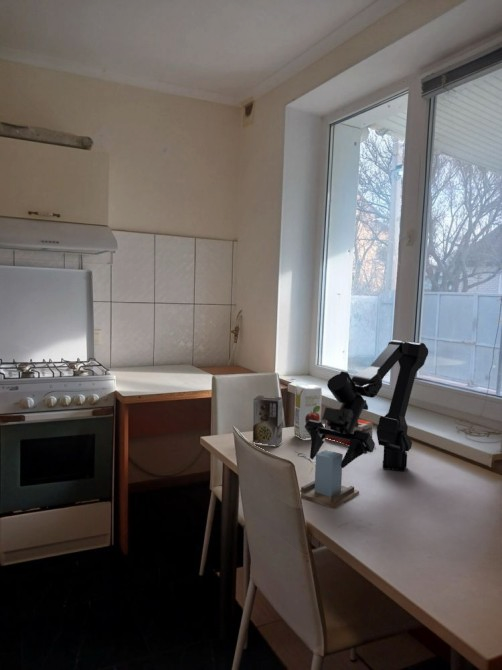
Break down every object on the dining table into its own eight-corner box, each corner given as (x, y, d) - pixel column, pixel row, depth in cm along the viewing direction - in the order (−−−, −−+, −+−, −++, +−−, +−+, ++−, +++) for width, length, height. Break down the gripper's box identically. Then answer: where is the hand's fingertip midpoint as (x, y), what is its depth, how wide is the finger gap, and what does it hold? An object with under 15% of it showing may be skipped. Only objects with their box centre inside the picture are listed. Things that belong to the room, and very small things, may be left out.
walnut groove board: (295, 495, 131) (295, 487, 131) (321, 482, 140) (321, 475, 140) (334, 508, 123) (335, 500, 123) (358, 493, 133) (359, 486, 133)
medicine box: (323, 439, 182) (324, 417, 181) (336, 435, 188) (337, 414, 187) (360, 449, 172) (361, 426, 171) (372, 444, 178) (373, 422, 177)
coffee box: (282, 442, 176) (283, 397, 175) (277, 447, 170) (278, 400, 169) (257, 439, 179) (259, 394, 178) (251, 444, 173) (253, 398, 172)
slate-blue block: (314, 491, 131) (315, 454, 130) (324, 486, 135) (326, 449, 134) (331, 497, 128) (332, 458, 127) (341, 491, 132) (342, 454, 131)
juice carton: (291, 435, 185) (293, 384, 183) (311, 433, 188) (313, 383, 187) (301, 441, 178) (303, 388, 176) (322, 439, 181) (324, 387, 180)
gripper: (309, 390, 139) (284, 438, 131) (371, 401, 127) (348, 454, 119) (323, 413, 145) (300, 460, 138) (384, 426, 133) (362, 478, 126)
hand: (326, 462), depth 130 cm, fingers open, 9 cm apart
